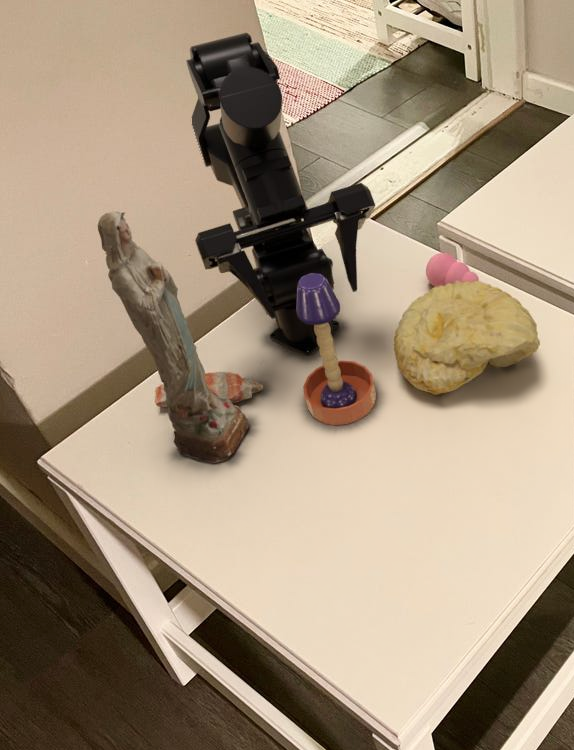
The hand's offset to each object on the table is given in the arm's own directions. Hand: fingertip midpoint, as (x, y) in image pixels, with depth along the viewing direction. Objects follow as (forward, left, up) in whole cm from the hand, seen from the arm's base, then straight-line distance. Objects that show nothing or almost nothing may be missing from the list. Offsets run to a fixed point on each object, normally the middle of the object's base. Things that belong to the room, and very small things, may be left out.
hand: (314, 304), depth 96 cm
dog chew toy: (-2, +23, -11) cm, 25 cm away
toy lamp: (+1, -1, -13) cm, 13 cm away
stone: (-11, -11, -12) cm, 19 cm away
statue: (-8, -13, -13) cm, 20 cm away
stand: (+1, -1, -13) cm, 13 cm away
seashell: (+11, +11, -13) cm, 21 cm away
